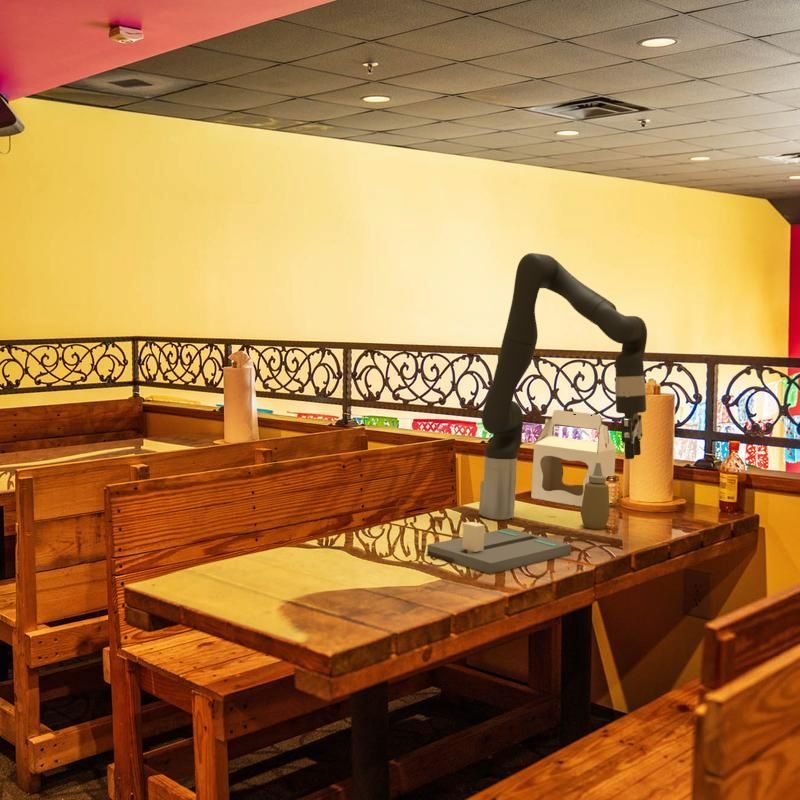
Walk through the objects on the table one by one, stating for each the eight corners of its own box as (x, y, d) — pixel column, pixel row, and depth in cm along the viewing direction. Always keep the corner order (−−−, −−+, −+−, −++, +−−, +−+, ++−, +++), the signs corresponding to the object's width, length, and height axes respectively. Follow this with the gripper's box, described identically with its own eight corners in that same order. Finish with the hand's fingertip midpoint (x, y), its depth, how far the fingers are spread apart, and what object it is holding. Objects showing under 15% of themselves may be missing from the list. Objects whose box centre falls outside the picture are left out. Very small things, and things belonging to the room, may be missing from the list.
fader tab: (462, 554, 229) (463, 523, 228) (470, 552, 231) (472, 521, 230) (474, 557, 226) (476, 526, 225) (483, 555, 228) (484, 525, 227)
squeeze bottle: (611, 531, 266) (616, 466, 264) (582, 529, 266) (586, 464, 264) (606, 524, 274) (610, 461, 272) (577, 523, 274) (581, 460, 272)
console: (427, 554, 232) (427, 543, 232) (507, 537, 253) (508, 527, 253) (490, 574, 218) (491, 562, 218) (570, 554, 239) (571, 543, 239)
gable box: (613, 503, 304) (619, 414, 301) (594, 509, 294) (600, 417, 291) (550, 492, 317) (555, 407, 315) (530, 498, 307) (535, 410, 304)
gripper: (621, 393, 257) (624, 454, 258) (609, 396, 244) (612, 460, 245) (650, 392, 254) (652, 453, 255) (640, 395, 241) (642, 460, 242)
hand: (633, 456), depth 250 cm, fingers open, 8 cm apart
